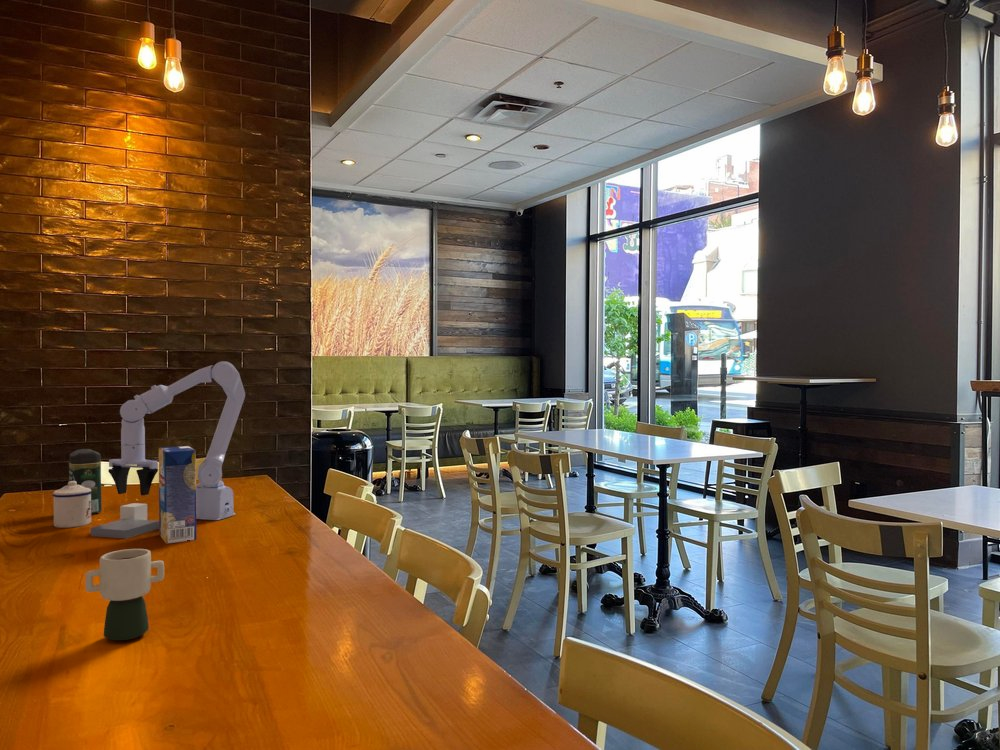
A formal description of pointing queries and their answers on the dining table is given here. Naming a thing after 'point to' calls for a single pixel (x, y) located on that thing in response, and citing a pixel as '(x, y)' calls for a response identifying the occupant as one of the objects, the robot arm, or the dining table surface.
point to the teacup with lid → (72, 506)
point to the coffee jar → (87, 474)
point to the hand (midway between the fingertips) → (133, 494)
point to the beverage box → (177, 494)
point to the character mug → (125, 590)
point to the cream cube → (133, 511)
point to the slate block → (124, 528)
